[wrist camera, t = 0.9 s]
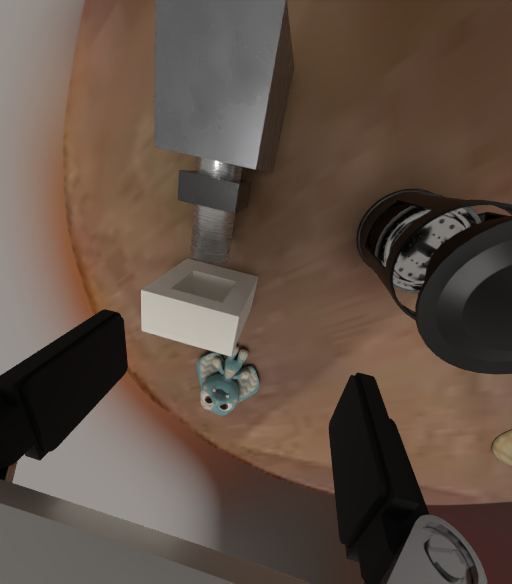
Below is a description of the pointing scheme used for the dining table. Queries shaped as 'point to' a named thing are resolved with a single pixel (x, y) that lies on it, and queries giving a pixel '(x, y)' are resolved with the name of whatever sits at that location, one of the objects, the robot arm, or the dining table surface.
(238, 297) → the socket
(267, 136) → the grey metal block
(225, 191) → the rod
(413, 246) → the french press
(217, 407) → the stuffed animal
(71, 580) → the robot arm
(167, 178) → the dining table surface
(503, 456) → the hand bell
